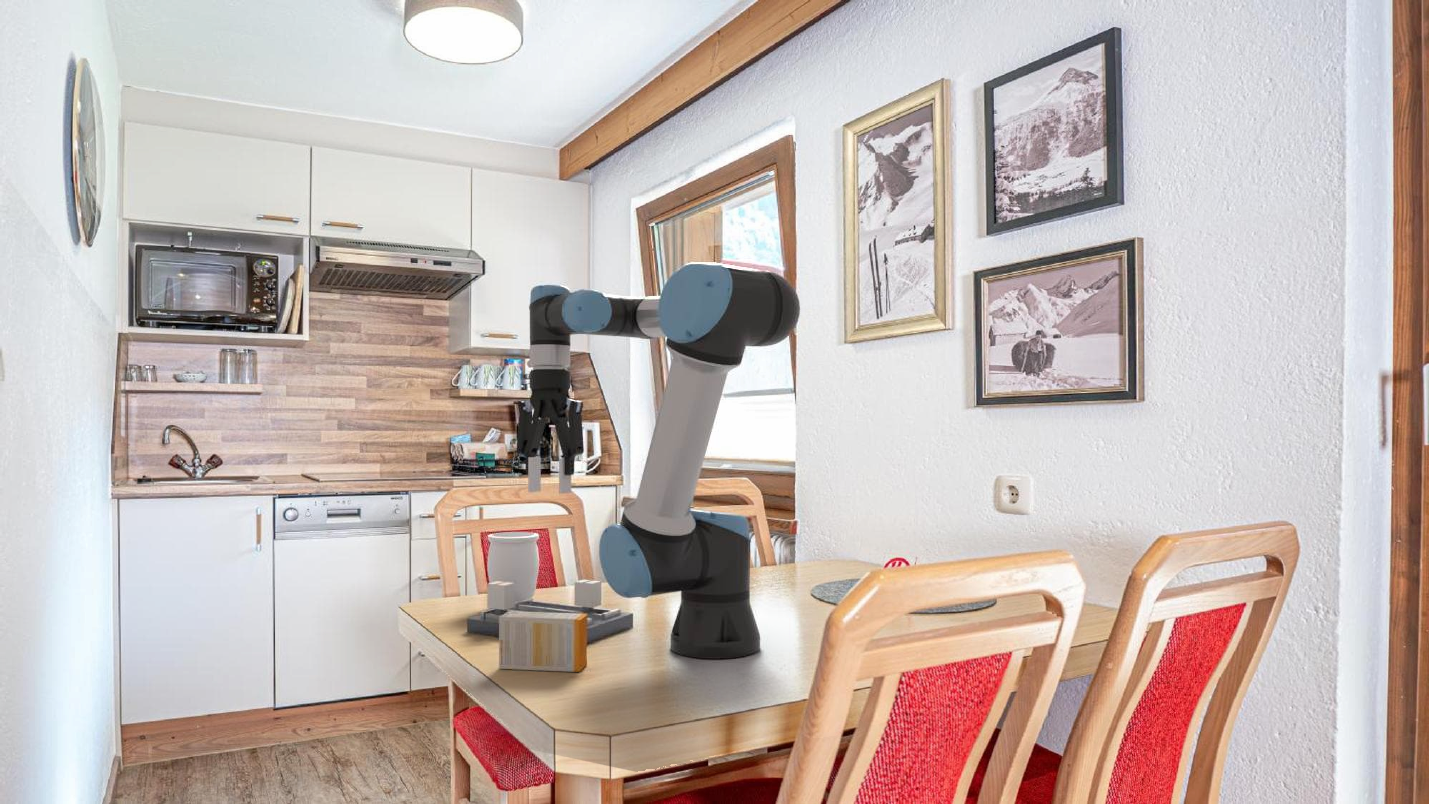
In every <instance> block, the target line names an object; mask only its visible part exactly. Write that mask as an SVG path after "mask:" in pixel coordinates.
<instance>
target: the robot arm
mask: <svg viewBox="0 0 1429 804" xmlns="http://www.w3.org/2000/svg"><path fill="white" fill-rule="evenodd" d="M798 296H799V295H798V294H797V292H796V289H795V288H794V287H793V285H792V284H791V283H790V282H789V280H787V279H786V278H785V277H784V276H782V275H780V274H778V273H775V272H773V271H771V270H766V269H765V270H764V269H757V268H756V269H755V268H749V267H744V266H743V267H742V266H736V265H730V264H723V263H718V262H714V261H712V262H711V261H710V262H709V261H708V262H699V261H698V262H697V261H696V262H690V263H689V262H688V263H686V264H684V265H682V266H681V267H680V268H679V269H676V270H675V271H673V273H672V274H671V275H670V277H668V279H667V281H666V282H665V284H664V286H663V287H662V290H661V293H660V295H653V296H639V297H637V296H623V295H622V296H621V295H616V294H615V295H614V294H606V293H602V292H601V291H600V290H596V289H585V288H583V289H578V290H575V291H573V292H571V290H570V288H569V287H567V286H564V285H559V284H544V285H541V284H540V285H535V286H533V287H532V288H531V290H530V299H529V301H530V302H529V305H528V309H529V342H530V343H529V366H530V367H531V368H532V369H531V370H530V371H529V389H530V391H531V394H530V397H529V399H528V400H527V399H526V400H519V401H518V402H517V409H518V426H517V428H518V429H517V438H516V440H517V441H516V453H518V454H521V455H523V456H524V457H525V473H526V475H528V478H527V482H528V483H527V488H528V490H527V491H528V493H536V492H541V491H542V490H541V488H542V487H541V485H542V481H541V480H542V477H541V476H542V475H541V473H542V471H541V469H542V468H541V464H542V461H541V460H542V457H541V456H540V454H539V453H538V451H539V449H540V446H541V443H542V439H543V434H544V431H545V427H546V424H547V423H548V422H549V419H550V420H551V421H552V422H551V423H553V425H554V429H555V431H556V435H557V438H558V442H559V446H560V450H561V455H560V457H559V458H558V494H561V495H562V494H571V493H572V476H574V473H575V458H576V457H577V456H579V455H583V454H584V452H585V449H584V448H585V447H584V436H583V435H584V433H583V431H584V430H583V420H582V412H583V407H584V402H583V401H582V400H575V399H571V395H570V393H569V390H570V389H571V371H570V370H569V369H568V368H570V367H571V336H572V335H592V336H606V337H607V336H608V337H623V338H624V337H625V338H636V339H642V340H643V339H644V340H652V339H660V338H666V340H665V347H666V348H667V350H668V352H669V353H670V355H671V357H672V359H671V362H670V366H669V370H668V375H667V379H666V383H665V386H664V390H663V394H662V396H661V397H662V398H661V402H660V405H659V410H658V413H657V416H656V422H655V424H654V429H653V433H652V437H651V440H650V445H649V449H648V452H647V456H646V460H645V465H644V468H643V472H642V475H641V480H640V484H639V488H638V492H637V495H636V498H634V499H632V500H630V501H628V502H627V503H625V505H624V507H623V512H622V516H621V519H620V522H619V523H612V524H611V525H608V527H606V528H604V530H603V531H602V533H601V535H600V540H599V547H598V553H599V554H598V555H599V562H600V567H601V570H602V573H603V576H604V578H605V580H606V582H607V584H608V585H609V587H610V589H612V590H613V591H614V593H616V594H617V595H619V596H620V597H622V598H626V599H634V598H642V599H646V598H648V597H651V596H657V595H663V594H672V593H678V592H680V603H679V604H680V605H679V607H678V611H677V613H676V617H675V620H674V623H673V627H672V629H671V632H670V645H669V646H670V647H669V648H670V650H671V651H672V652H674V653H676V654H678V655H681V656H685V657H690V658H691V657H692V658H697V659H698V658H699V659H713V660H714V659H732V658H740V657H746V656H750V655H753V654H755V653H757V652H759V651H760V649H761V634H760V630H759V627H758V625H757V622H756V618H755V615H754V612H753V609H752V605H751V601H750V600H751V599H750V598H751V596H750V592H751V591H750V590H751V586H750V585H751V583H750V582H751V580H750V577H751V542H752V540H751V537H750V522H749V520H748V519H747V517H746V516H745V515H743V514H738V513H729V512H724V511H723V512H722V511H711V510H702V509H700V510H699V509H691V508H692V504H693V501H694V498H695V494H696V493H695V492H696V489H697V486H698V482H699V479H700V476H701V472H702V467H703V465H704V464H703V463H704V461H705V457H706V453H707V449H708V446H709V443H710V438H711V435H712V431H713V429H714V423H715V421H716V417H717V413H718V409H719V406H720V401H721V400H722V399H721V398H722V395H723V392H724V388H725V384H726V380H727V376H728V374H729V372H731V371H732V370H734V369H736V368H738V367H739V366H740V365H741V363H742V361H743V357H744V354H745V351H746V347H769V346H773V345H776V344H778V343H780V342H782V341H784V340H786V339H787V338H788V337H789V336H790V335H791V334H792V332H793V331H794V330H795V328H796V326H797V324H798V322H799V319H800V314H801V313H800V312H801V311H800V310H801V307H800V306H801V305H800V299H799V297H798ZM566 410H568V411H566ZM567 412H568V414H567Z"/></svg>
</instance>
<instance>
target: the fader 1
mask: <svg viewBox="0 0 1429 804" xmlns="http://www.w3.org/2000/svg"><path fill="white" fill-rule="evenodd" d="M486 589H487V597H486V601H487V602H486V603H487V604H486V605H487V606H486V607H487V609H493V608H494V609H495V614H498V615H503V614H505V613H507V609H509V608H513V607H514V603H515V583H510V582H506V581H505V582H500V581H496V582H492V583H489V582H488V583H487V587H486Z"/></svg>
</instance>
